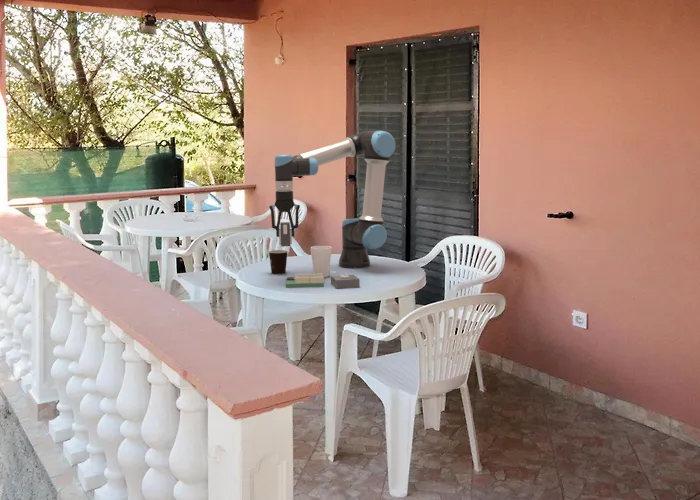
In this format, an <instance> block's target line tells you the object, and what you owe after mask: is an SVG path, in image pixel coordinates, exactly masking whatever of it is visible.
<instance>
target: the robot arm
mask: <svg viewBox="0 0 700 500" xmlns="http://www.w3.org/2000/svg"><path fill="white" fill-rule="evenodd" d="M395 150H396V140H395V138H394V136H393V135H392V134H391V133H390V132H389V131H386V130H385V131H384V130H364V131H361V132H358V133H354V134H353V135H349V136H348V137H345V138H344V139H343V140H342V141H339V142H336V143H331V144H328V145H326V146H323V147H319V148H316V149H312V150H310V151H307V152H302V153H300V154H296V155H292V154H276V155H275V157H274V179H275V183H274V184H275V186H274V187H275V190H276V191H275V202H274V204H272V205H271V204H270V205H269V207H268V208H269V210H270V216H271V217H270V218H271V228H272V229H274V230H276V238H278V244H279V245H280V246H281V228H280V227H281V226H280V223H281V221H282V213H287V215H288V219H289V222H290V246H291V245H292V244H293V238H292V237H295V229H297V228H299V211H300V208H301V205H300V204H297V203H295V201H294V191H293V190H294V180H293V179H294V177H305V176H306V177H307V176H309V177H311V176H315V175H317V174H318V172H319V166H323V165H325V164H329V163H331V162H335V161H339V160H341V159H345V158H347V157H349V158H354V157H358V156H359V157H361V156H364V159H363V160H364V161H365V162H366V171H365V181H364V182H365V184H364V194H363V203H362V205H363V206H362V214H361V216H360V217H358V218H357V217H356V218H345V219H343V220H342V224H341V232H342V233H341V234H342V235H341V236H342V237H341V238H342V241H341V242H342V244H341V246H342V250H341V253H340V257H339V260H338V266H339V267H341V268H344V269H364V268H368V267H371V260H370V256H369V253H368V250H369V249H371V250H377V249H380V248H381V247H382V246H383V245H384V244H385V242H386V241H387V238H388V232H387V229H386V227H385V226H384V219H383V217H382V208H383V199H384V198H383V197H384V187H385V176H386V175H385V174H386V167H387V164H388V163H390V157H391V156H392V155H393V154H394V152H395ZM293 208H294V210H295V222H294V221H293V220H294V219H293V215H292V211H291V210H293ZM275 209H277V210H278V217H277V222H275ZM294 223H295V224H294ZM367 249H368V250H367Z"/></svg>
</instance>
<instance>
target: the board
mask: <svg viewBox="0 0 700 500" xmlns="http://www.w3.org/2000/svg"><path fill="white" fill-rule="evenodd" d="M322 287H323V288H324V287H325V282H324V283H295V277H294V276H287V277H286V278H285V288H322Z"/></svg>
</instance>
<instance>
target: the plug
mask: <svg viewBox="0 0 700 500" xmlns="http://www.w3.org/2000/svg"><path fill="white" fill-rule="evenodd" d="M279 227H280V229H281V245H280V247H291V245H290V229H291V224H290V221H285V222H284V221H282V222H281V221H280V226H279Z"/></svg>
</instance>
